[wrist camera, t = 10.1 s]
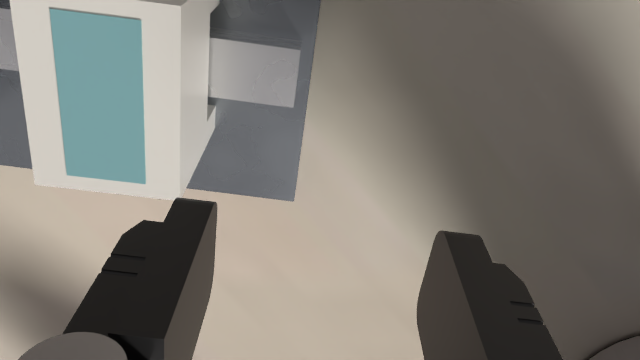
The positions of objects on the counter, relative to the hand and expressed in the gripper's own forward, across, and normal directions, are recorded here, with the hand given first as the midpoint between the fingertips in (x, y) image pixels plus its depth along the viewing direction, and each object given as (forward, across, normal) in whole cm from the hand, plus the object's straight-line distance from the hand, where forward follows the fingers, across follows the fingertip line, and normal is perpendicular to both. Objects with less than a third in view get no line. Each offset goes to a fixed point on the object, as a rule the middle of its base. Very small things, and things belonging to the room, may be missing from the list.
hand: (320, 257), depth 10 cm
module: (+12, +6, 0) cm, 14 cm away
